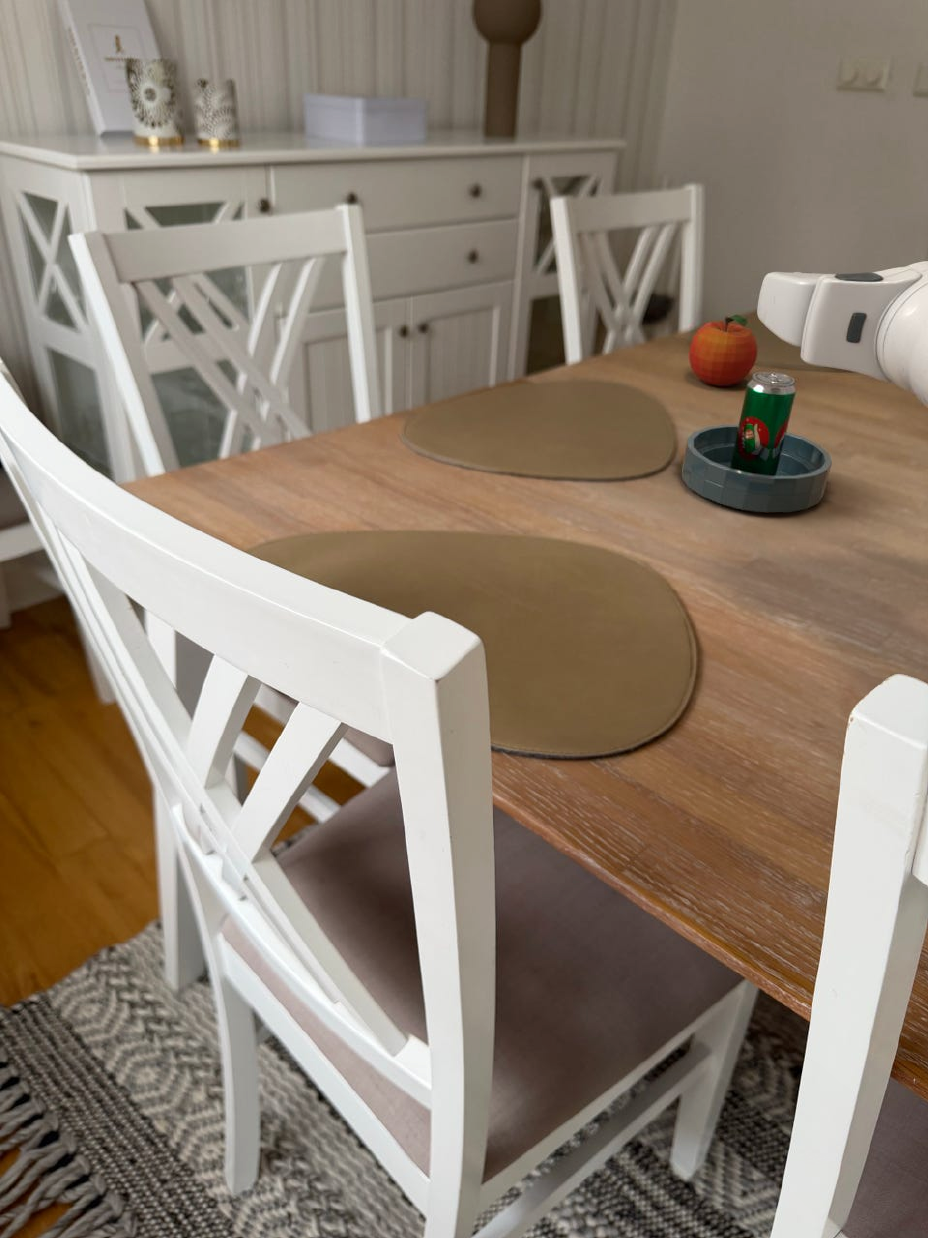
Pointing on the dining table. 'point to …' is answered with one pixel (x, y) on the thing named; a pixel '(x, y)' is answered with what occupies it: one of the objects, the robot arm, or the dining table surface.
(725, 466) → the bowl
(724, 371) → the fruit
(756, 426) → the soda can
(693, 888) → the dining table surface
